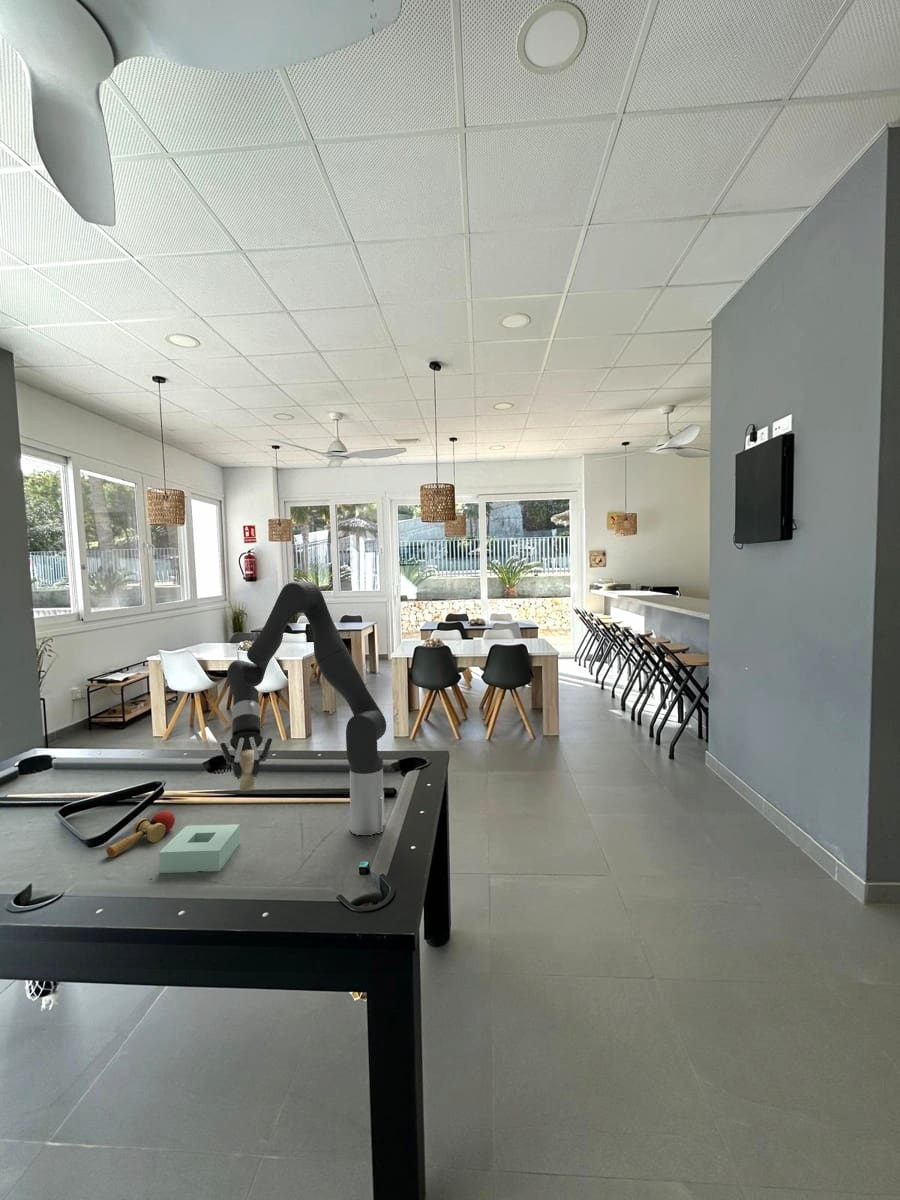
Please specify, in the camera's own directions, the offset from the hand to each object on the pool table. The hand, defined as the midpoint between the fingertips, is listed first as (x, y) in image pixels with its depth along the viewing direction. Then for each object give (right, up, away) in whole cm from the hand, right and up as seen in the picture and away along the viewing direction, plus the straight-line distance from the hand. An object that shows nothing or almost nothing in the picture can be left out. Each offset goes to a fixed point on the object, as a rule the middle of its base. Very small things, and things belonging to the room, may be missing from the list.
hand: (247, 776), depth 137 cm
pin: (-1, -4, +2) cm, 5 cm away
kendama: (-29, -19, +2) cm, 34 cm away
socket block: (-9, -18, -6) cm, 21 cm away
